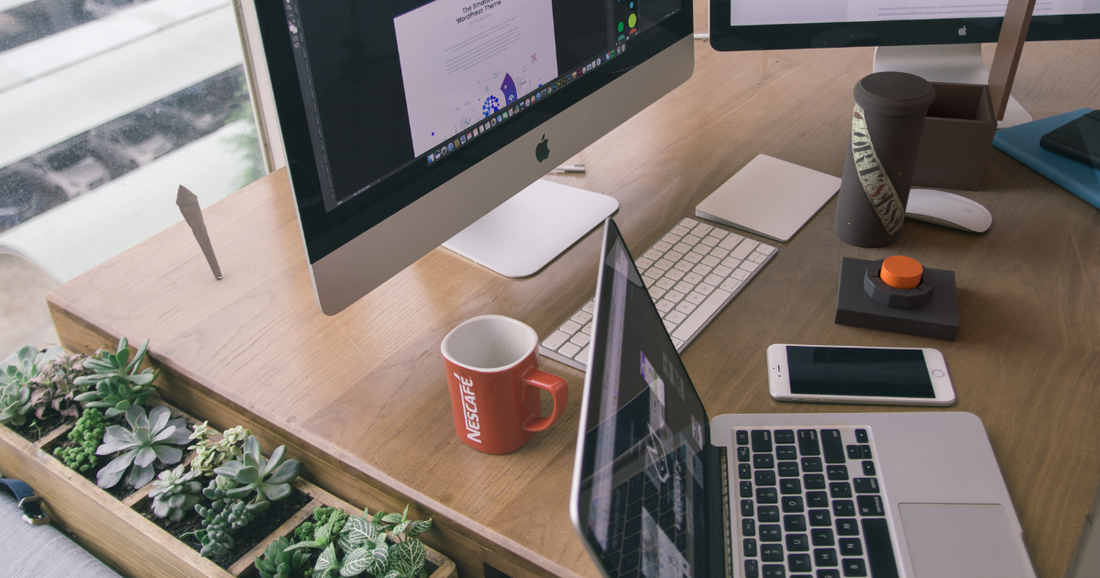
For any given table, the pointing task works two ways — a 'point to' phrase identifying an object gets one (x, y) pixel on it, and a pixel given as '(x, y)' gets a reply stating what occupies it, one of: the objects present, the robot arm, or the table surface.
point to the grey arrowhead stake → (197, 225)
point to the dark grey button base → (897, 301)
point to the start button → (901, 272)
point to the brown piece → (1009, 53)
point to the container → (881, 157)
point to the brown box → (956, 137)
